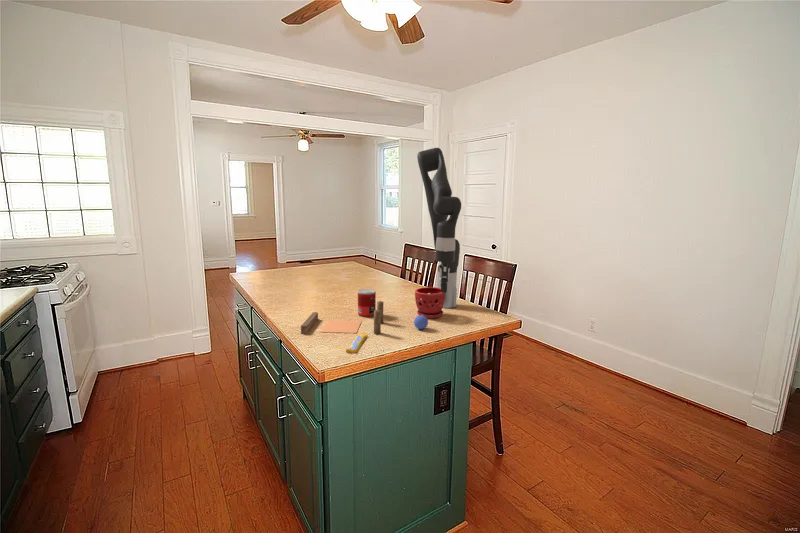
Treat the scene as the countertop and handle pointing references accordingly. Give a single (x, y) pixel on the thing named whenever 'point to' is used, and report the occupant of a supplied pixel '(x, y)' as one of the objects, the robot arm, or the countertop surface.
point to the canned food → (366, 302)
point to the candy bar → (356, 343)
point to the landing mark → (341, 326)
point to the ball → (421, 322)
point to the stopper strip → (309, 323)
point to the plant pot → (429, 302)
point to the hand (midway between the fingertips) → (443, 289)
